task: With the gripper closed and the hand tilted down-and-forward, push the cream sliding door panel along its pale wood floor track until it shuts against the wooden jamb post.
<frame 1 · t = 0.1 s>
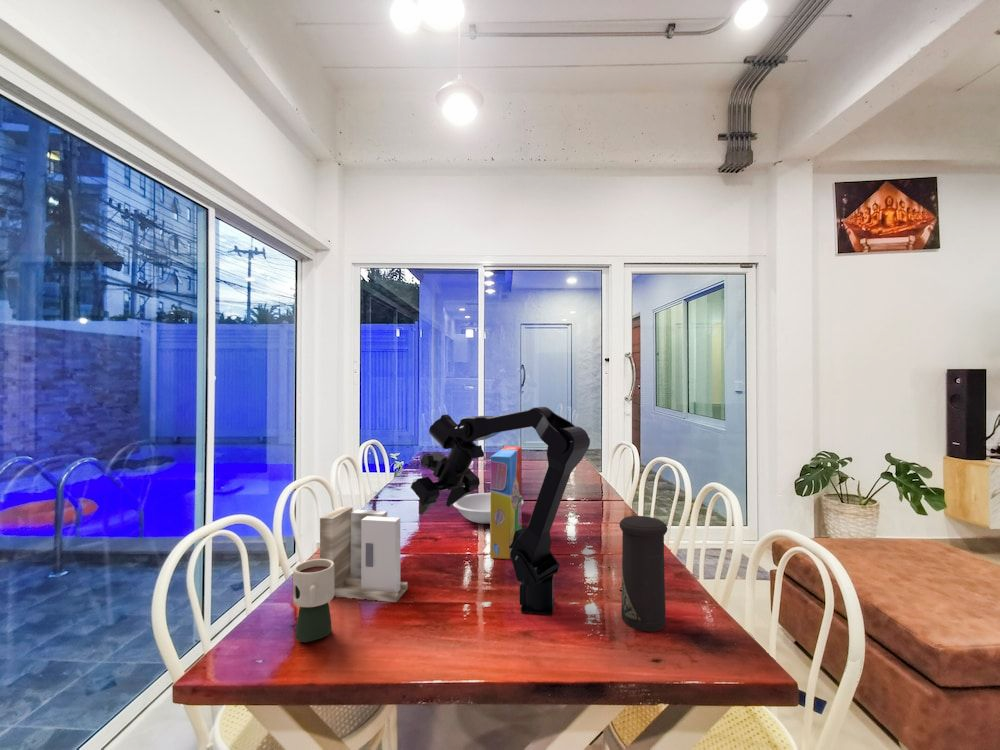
hand: (434, 509, 115), 15 cm above the table, tool tilted 35°, fingers open, 9 cm apart
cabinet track: (370, 592, 102), on the table
door: (380, 555, 102), point 9 cm above the table, slide at 0.0 cm
container: (643, 621, 90), on the table
soup bowl: (488, 521, 155), on the table
game box: (507, 546, 131), on the table
character mug: (313, 637, 85), on the table
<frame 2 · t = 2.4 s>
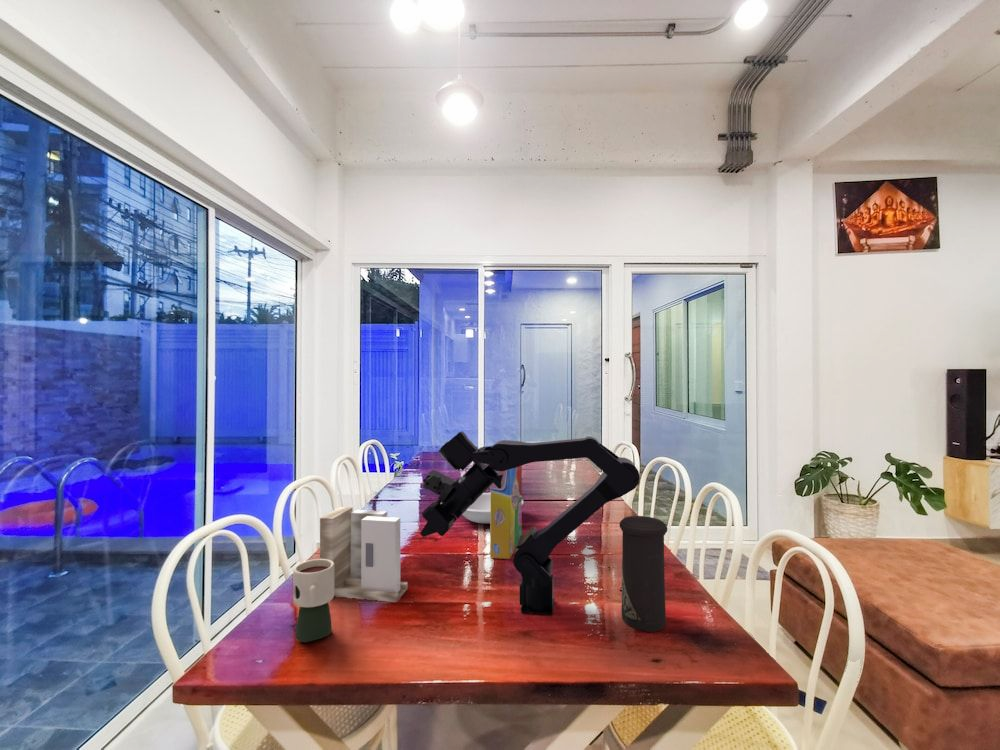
hand: (422, 534, 100), 14 cm above the table, tool tilted 45°, fingers closed
nothing on the table moved.
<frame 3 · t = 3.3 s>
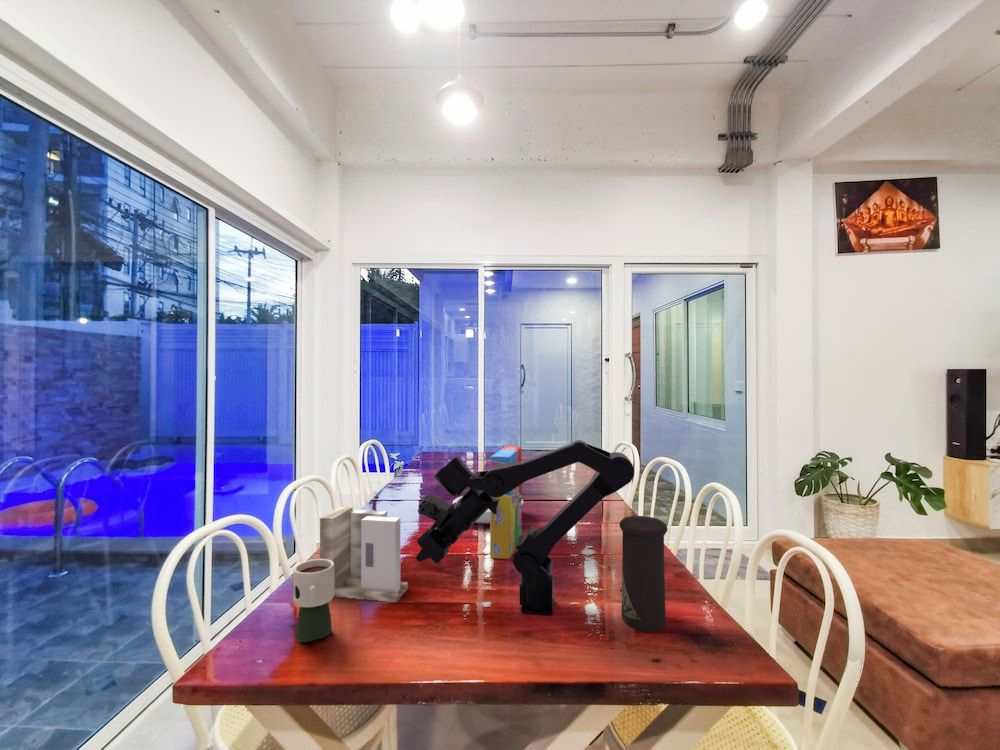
hand: (417, 559, 100), 8 cm above the table, tool tilted 45°, fingers closed
nothing on the table moved.
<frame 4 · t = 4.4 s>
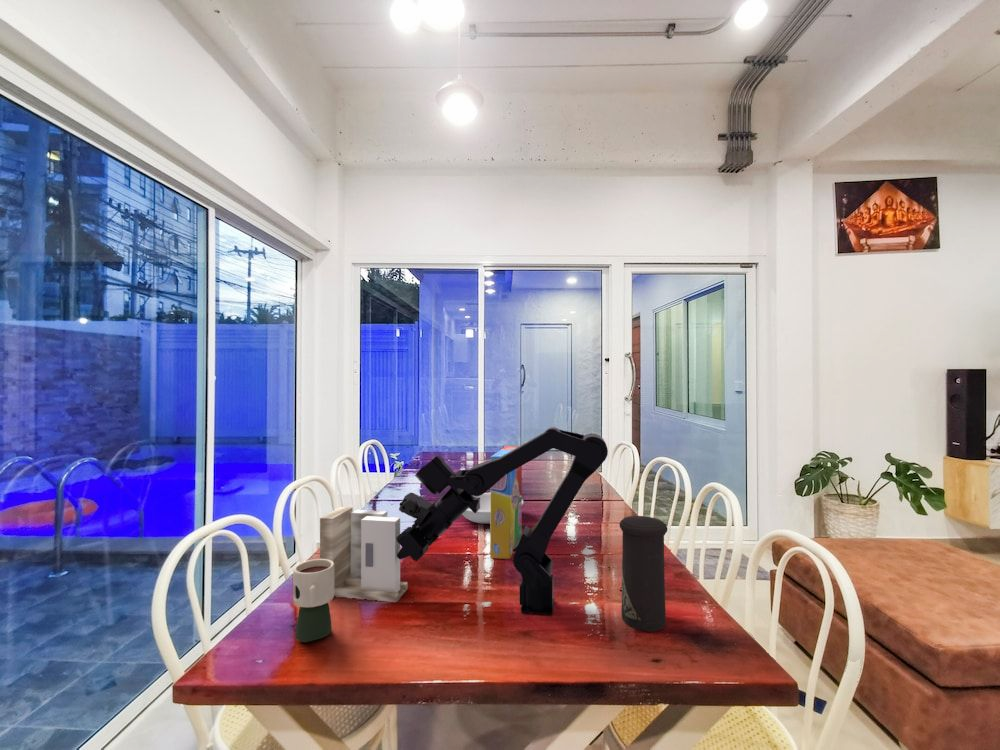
hand: (398, 557, 101), 8 cm above the table, tool tilted 45°, fingers closed, pressing on door
door: (380, 555, 102), point 9 cm above the table, slide at 0.1 cm, touching gripper
everything else where it was.
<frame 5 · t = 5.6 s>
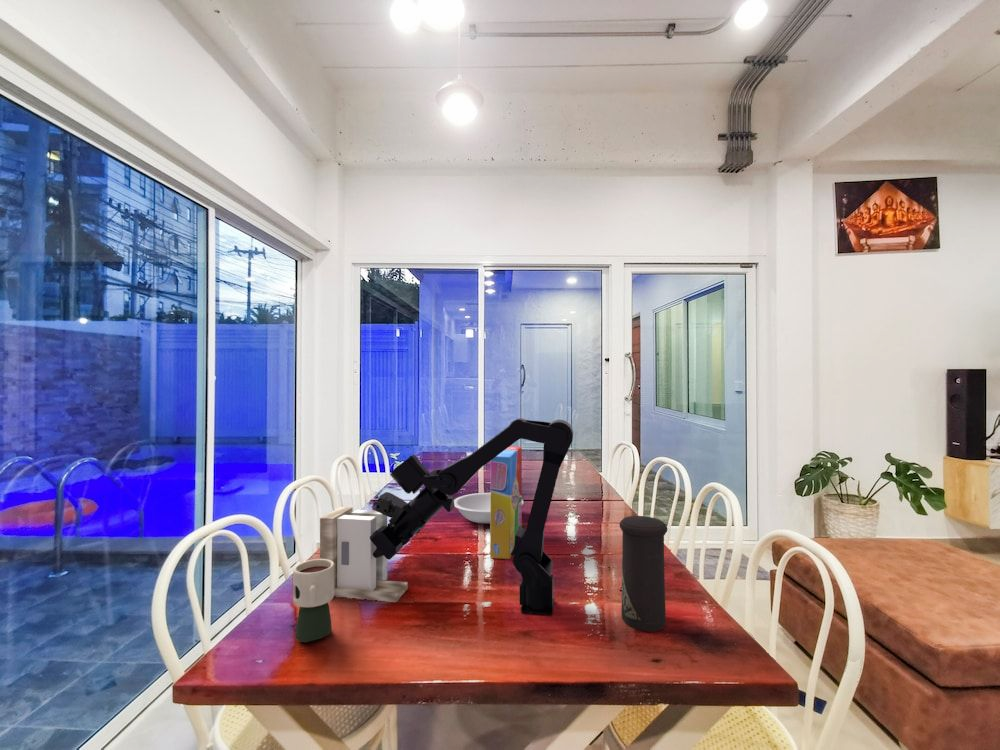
hand: (374, 555, 102), 8 cm above the table, tool tilted 45°, fingers closed, pressing on door
door: (356, 553, 103), point 9 cm above the table, slide at 5.8 cm, touching gripper
everything else where it was.
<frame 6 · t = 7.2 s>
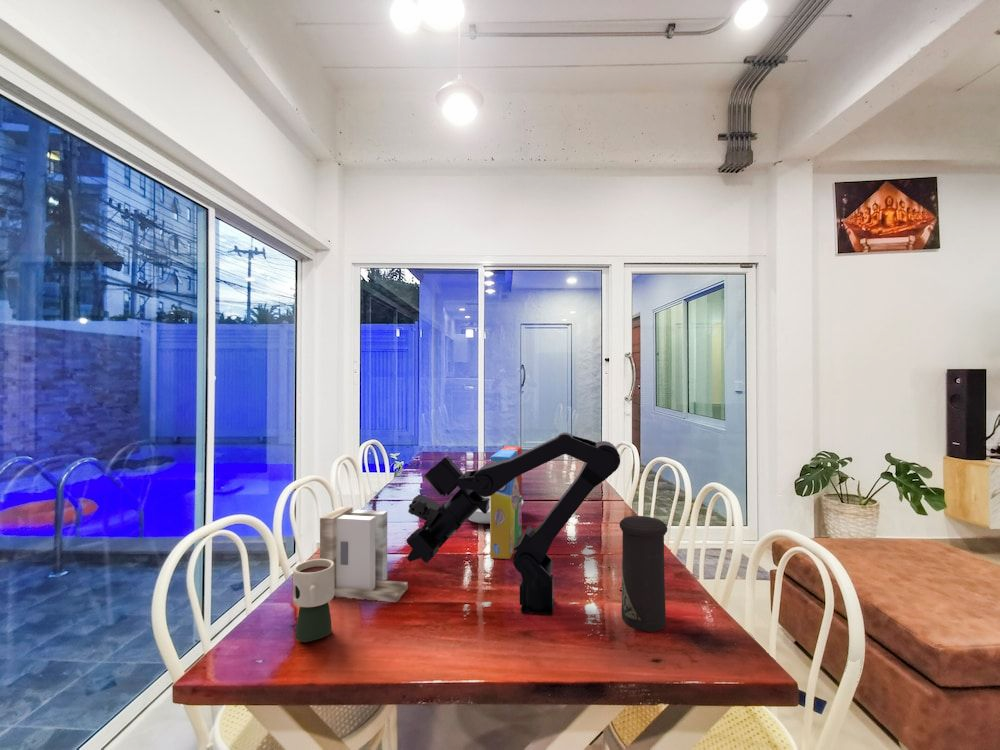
hand: (408, 559, 101), 8 cm above the table, tool tilted 45°, fingers closed
door: (355, 553, 103), point 9 cm above the table, slide at 6.0 cm
everything else where it was.
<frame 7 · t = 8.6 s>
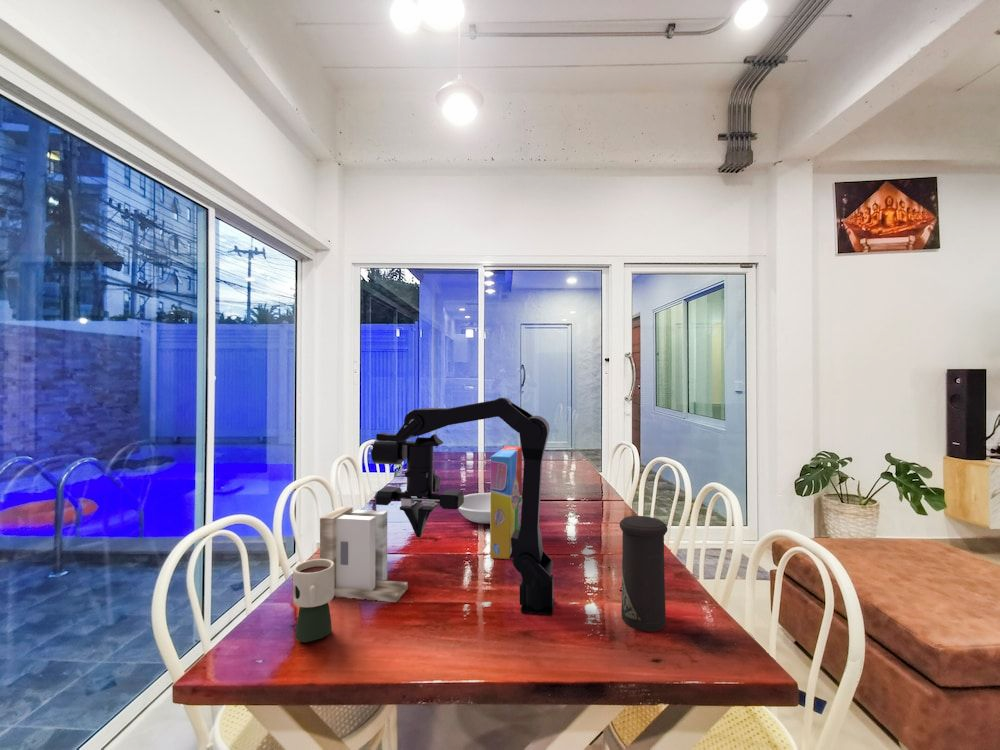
hand: (419, 536, 100), 13 cm above the table, tool pointing down, fingers closed
nothing on the table moved.
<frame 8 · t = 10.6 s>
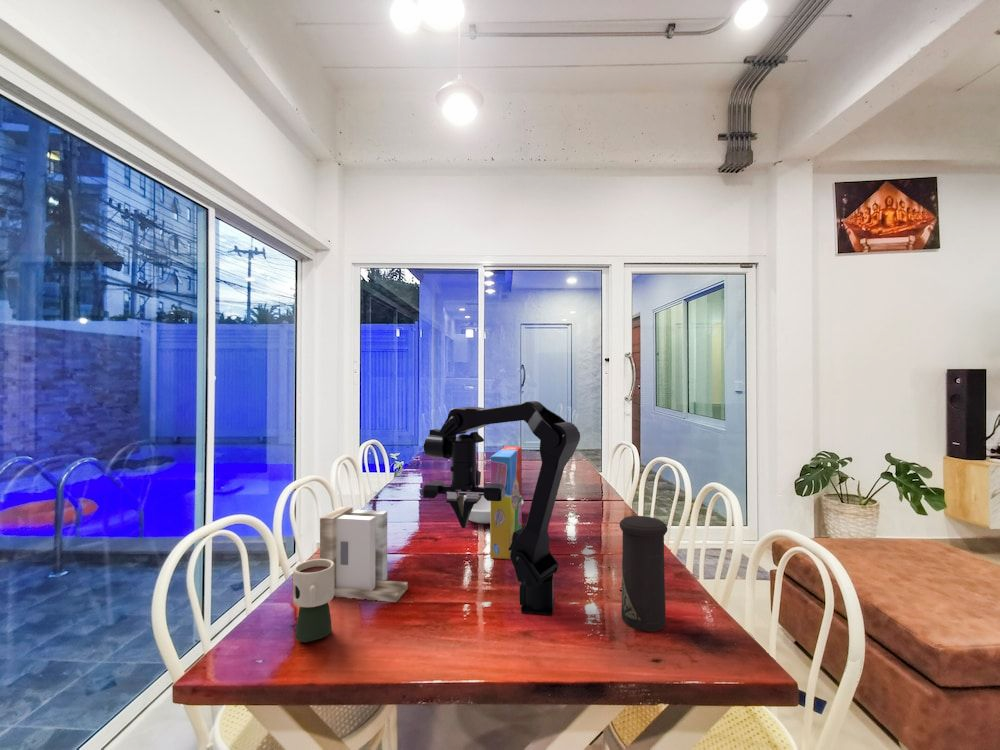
hand: (463, 527, 107), 13 cm above the table, tool pointing down, fingers closed
nothing on the table moved.
at the end: door slide at 6.0 cm; the gripper is holding nothing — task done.
